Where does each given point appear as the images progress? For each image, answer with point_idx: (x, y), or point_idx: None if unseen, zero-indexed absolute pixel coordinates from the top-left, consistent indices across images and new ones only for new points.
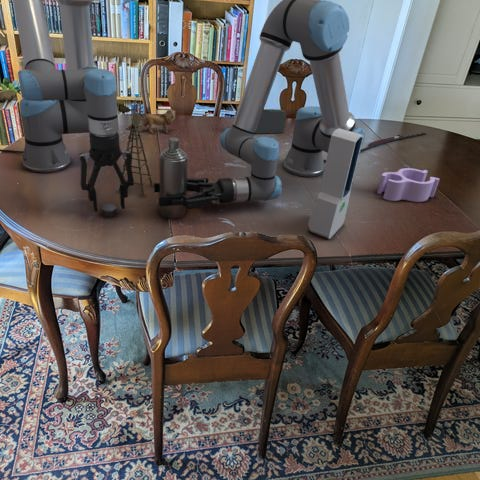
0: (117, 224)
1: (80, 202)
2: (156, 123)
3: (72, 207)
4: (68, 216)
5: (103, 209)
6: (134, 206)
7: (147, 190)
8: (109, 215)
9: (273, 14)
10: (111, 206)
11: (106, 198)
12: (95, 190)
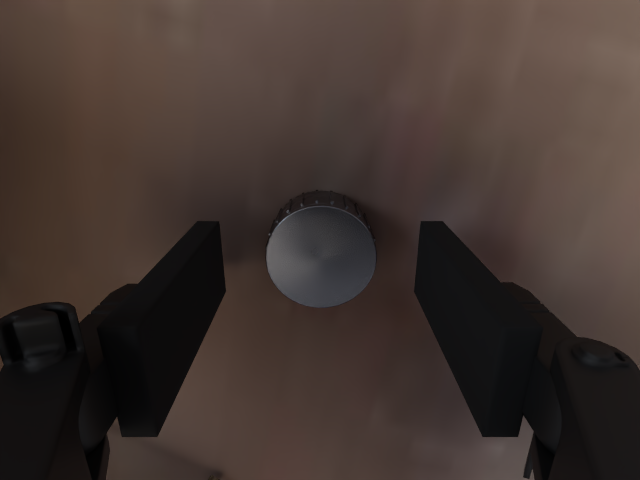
0: (287, 68)
1: (468, 412)
2: None
3: None
4: (593, 268)
5: (370, 239)
6: None
7: None
8: (329, 194)
9: None
10: (299, 273)
11: (306, 425)
12: (497, 362)
